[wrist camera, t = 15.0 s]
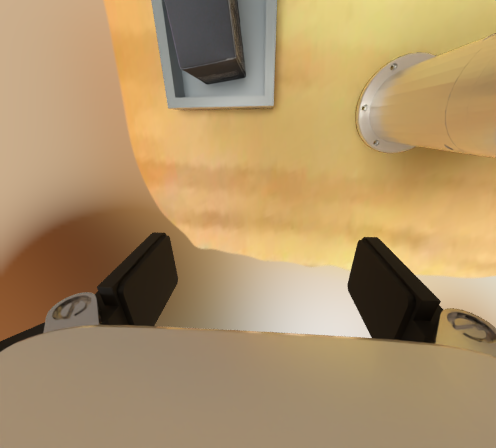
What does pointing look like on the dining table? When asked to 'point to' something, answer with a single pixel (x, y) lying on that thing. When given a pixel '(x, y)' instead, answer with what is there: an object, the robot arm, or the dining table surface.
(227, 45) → the small box
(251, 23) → the crate
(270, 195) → the dining table surface
